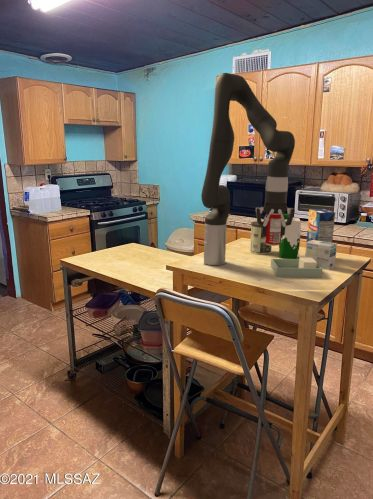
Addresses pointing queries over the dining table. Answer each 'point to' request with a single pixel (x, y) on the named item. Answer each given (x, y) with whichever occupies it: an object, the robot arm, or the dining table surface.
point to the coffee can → (258, 240)
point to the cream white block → (307, 263)
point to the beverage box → (320, 225)
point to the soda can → (273, 230)
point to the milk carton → (290, 239)
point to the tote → (293, 269)
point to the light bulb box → (322, 253)
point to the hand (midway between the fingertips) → (273, 236)
